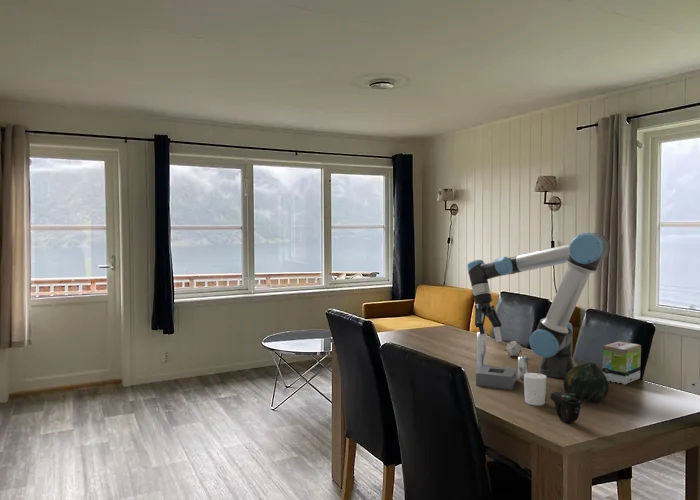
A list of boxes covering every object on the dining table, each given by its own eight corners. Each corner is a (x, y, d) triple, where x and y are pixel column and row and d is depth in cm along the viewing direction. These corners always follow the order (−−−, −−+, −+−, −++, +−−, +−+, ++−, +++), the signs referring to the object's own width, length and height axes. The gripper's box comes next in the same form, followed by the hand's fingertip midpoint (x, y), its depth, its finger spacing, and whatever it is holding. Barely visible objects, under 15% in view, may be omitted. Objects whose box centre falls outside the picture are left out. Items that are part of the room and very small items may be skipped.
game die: (510, 364, 263) (499, 348, 262) (512, 354, 271) (501, 339, 270) (526, 357, 259) (515, 341, 258) (527, 348, 266) (516, 332, 265)
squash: (556, 377, 207) (567, 354, 197) (595, 379, 207) (608, 356, 196) (565, 410, 197) (577, 388, 187) (606, 412, 197) (620, 390, 186)
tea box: (626, 385, 215) (627, 349, 214) (601, 380, 223) (601, 345, 222) (640, 378, 225) (641, 343, 224) (616, 373, 232) (616, 340, 232)
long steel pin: (486, 372, 235) (487, 332, 234) (485, 374, 231) (485, 333, 230) (477, 371, 236) (477, 331, 236) (475, 373, 233) (476, 333, 232)
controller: (571, 428, 169) (571, 397, 169) (548, 414, 181) (548, 385, 181) (583, 426, 170) (583, 395, 170) (559, 413, 182) (559, 385, 182)
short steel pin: (528, 377, 227) (528, 356, 226) (527, 379, 223) (527, 358, 223) (518, 376, 228) (518, 355, 228) (517, 378, 225) (517, 357, 224)
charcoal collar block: (516, 380, 222) (516, 368, 222) (511, 389, 210) (511, 376, 210) (482, 376, 228) (482, 364, 228) (475, 385, 216) (476, 373, 215)
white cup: (547, 406, 189) (548, 379, 189) (524, 405, 191) (525, 378, 190) (544, 400, 197) (544, 373, 196) (522, 398, 198) (522, 372, 198)
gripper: (487, 298, 249) (497, 343, 243) (460, 294, 231) (470, 343, 224) (502, 294, 244) (512, 340, 238) (475, 290, 226) (486, 340, 220)
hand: (492, 341), depth 231 cm, fingers open, 13 cm apart
